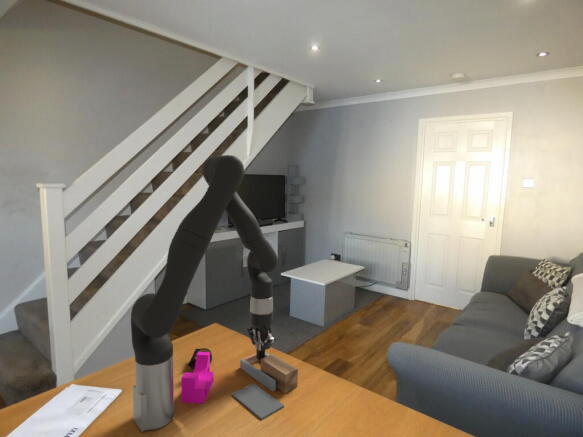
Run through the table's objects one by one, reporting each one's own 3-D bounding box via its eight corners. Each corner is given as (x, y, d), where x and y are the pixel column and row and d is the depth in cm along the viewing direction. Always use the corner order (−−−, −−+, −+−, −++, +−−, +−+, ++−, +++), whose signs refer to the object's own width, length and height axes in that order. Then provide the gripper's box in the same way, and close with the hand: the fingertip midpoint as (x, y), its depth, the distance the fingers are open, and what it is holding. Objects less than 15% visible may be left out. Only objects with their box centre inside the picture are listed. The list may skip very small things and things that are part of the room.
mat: (261, 420, 90) (261, 418, 90) (231, 395, 100) (231, 393, 100) (284, 406, 96) (284, 405, 96) (253, 384, 106) (253, 383, 106)
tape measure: (195, 354, 120) (195, 346, 119) (214, 356, 120) (214, 348, 118) (188, 369, 114) (187, 360, 113) (208, 371, 113) (207, 362, 112)
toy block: (203, 404, 96) (203, 378, 96) (181, 402, 97) (181, 377, 96) (217, 374, 111) (217, 352, 111) (198, 373, 112) (198, 351, 111)
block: (285, 393, 102) (285, 374, 101) (260, 376, 111) (260, 358, 110) (297, 387, 105) (297, 368, 105) (272, 371, 114) (272, 353, 114)
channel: (272, 391, 103) (273, 382, 102) (240, 368, 115) (240, 359, 115) (295, 379, 109) (296, 370, 109) (262, 358, 121) (262, 350, 121)
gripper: (240, 306, 115) (239, 355, 117) (265, 318, 105) (264, 371, 107) (258, 301, 120) (257, 348, 122) (283, 312, 110) (282, 363, 112)
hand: (260, 359), depth 114 cm, fingers closed
